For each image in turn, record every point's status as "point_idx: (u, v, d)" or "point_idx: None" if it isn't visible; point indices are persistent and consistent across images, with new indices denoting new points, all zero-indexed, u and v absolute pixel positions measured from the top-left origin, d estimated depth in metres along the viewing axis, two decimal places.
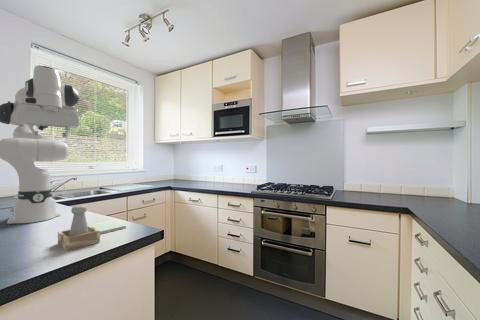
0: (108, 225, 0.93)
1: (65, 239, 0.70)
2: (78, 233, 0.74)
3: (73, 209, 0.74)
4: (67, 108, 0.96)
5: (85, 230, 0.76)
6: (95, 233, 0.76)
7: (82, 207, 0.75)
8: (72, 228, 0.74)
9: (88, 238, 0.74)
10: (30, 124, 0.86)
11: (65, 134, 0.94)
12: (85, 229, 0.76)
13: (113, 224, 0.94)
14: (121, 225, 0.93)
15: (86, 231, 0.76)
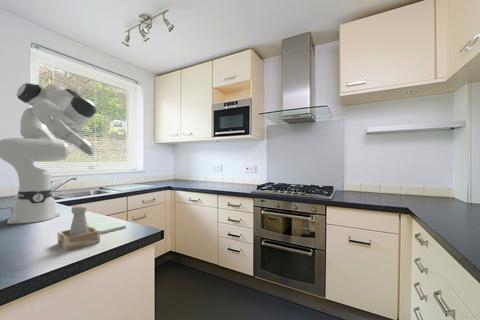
0: (108, 225, 0.93)
1: (65, 239, 0.70)
2: (78, 233, 0.74)
3: (73, 209, 0.74)
4: None
5: (85, 230, 0.76)
6: (95, 233, 0.76)
7: (82, 207, 0.75)
8: (72, 228, 0.74)
9: (88, 238, 0.74)
10: (84, 150, 0.93)
11: (74, 144, 0.82)
12: (85, 229, 0.76)
13: (113, 224, 0.94)
14: (121, 225, 0.93)
15: (86, 231, 0.76)
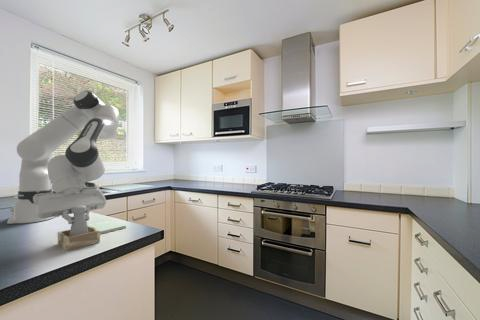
0: (108, 225, 0.93)
1: (65, 239, 0.70)
2: (78, 233, 0.74)
3: (73, 209, 0.74)
4: None
5: (85, 230, 0.76)
6: (95, 233, 0.76)
7: (82, 207, 0.75)
8: (72, 228, 0.74)
9: (88, 238, 0.74)
10: None
11: None
12: (85, 229, 0.76)
13: (113, 224, 0.94)
14: (121, 225, 0.93)
15: (86, 231, 0.76)
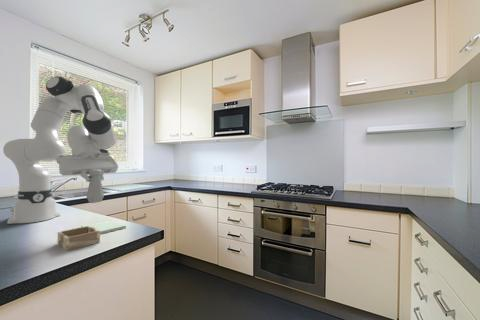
0: (108, 225, 0.93)
1: (65, 239, 0.70)
2: (94, 192, 0.85)
3: (90, 171, 0.85)
4: None
5: (100, 190, 0.87)
6: (95, 233, 0.76)
7: (97, 170, 0.86)
8: (89, 188, 0.85)
9: (88, 238, 0.74)
10: None
11: None
12: (100, 190, 0.87)
13: (113, 224, 0.94)
14: (121, 225, 0.93)
15: (101, 191, 0.87)
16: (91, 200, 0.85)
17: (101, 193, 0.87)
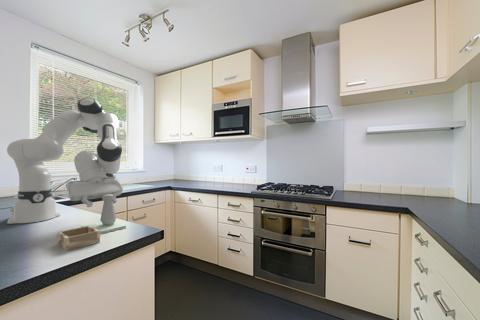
0: None
1: (65, 239, 0.70)
2: (108, 216, 0.92)
3: (103, 197, 0.92)
4: None
5: (113, 214, 0.94)
6: (95, 233, 0.76)
7: (110, 195, 0.93)
8: (103, 212, 0.92)
9: (88, 238, 0.74)
10: None
11: None
12: (113, 213, 0.94)
13: (113, 224, 0.94)
14: (121, 225, 0.93)
15: (114, 215, 0.94)
16: (105, 224, 0.92)
17: (114, 216, 0.94)
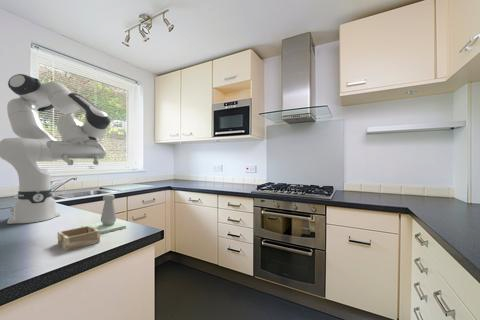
0: None
1: (65, 239, 0.70)
2: (108, 216, 0.92)
3: (104, 197, 0.92)
4: None
5: (113, 214, 0.94)
6: (95, 233, 0.76)
7: (111, 196, 0.93)
8: (103, 212, 0.92)
9: (88, 238, 0.74)
10: None
11: None
12: (113, 213, 0.94)
13: (113, 224, 0.94)
14: (121, 225, 0.93)
15: (114, 215, 0.94)
16: (105, 224, 0.92)
17: (114, 216, 0.94)
